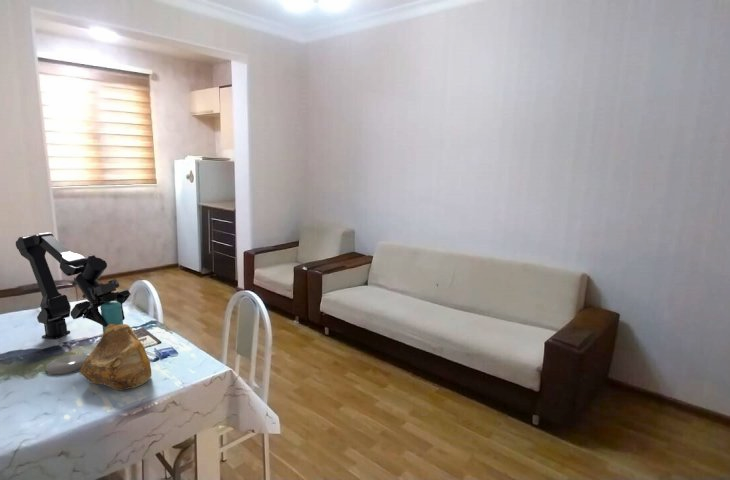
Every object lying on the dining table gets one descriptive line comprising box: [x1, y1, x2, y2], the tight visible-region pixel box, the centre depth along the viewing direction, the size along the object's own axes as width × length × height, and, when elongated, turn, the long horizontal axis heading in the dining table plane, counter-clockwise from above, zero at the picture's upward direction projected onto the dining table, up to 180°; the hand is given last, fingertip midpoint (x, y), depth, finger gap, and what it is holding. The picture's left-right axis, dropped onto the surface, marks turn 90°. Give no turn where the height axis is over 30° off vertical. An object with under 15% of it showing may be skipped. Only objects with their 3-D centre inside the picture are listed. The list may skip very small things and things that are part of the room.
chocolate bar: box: [132, 327, 162, 348], centre depth 157 cm, size 9×1×18 cm
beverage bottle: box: [99, 291, 124, 334], centre depth 144 cm, size 6×7×20 cm
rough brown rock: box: [79, 323, 152, 392], centre depth 126 cm, size 23×17×15 cm
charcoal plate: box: [45, 353, 90, 376], centre depth 136 cm, size 12×12×1 cm
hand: (115, 322), depth 144 cm, fingers closed on beverage bottle, 6 cm apart
